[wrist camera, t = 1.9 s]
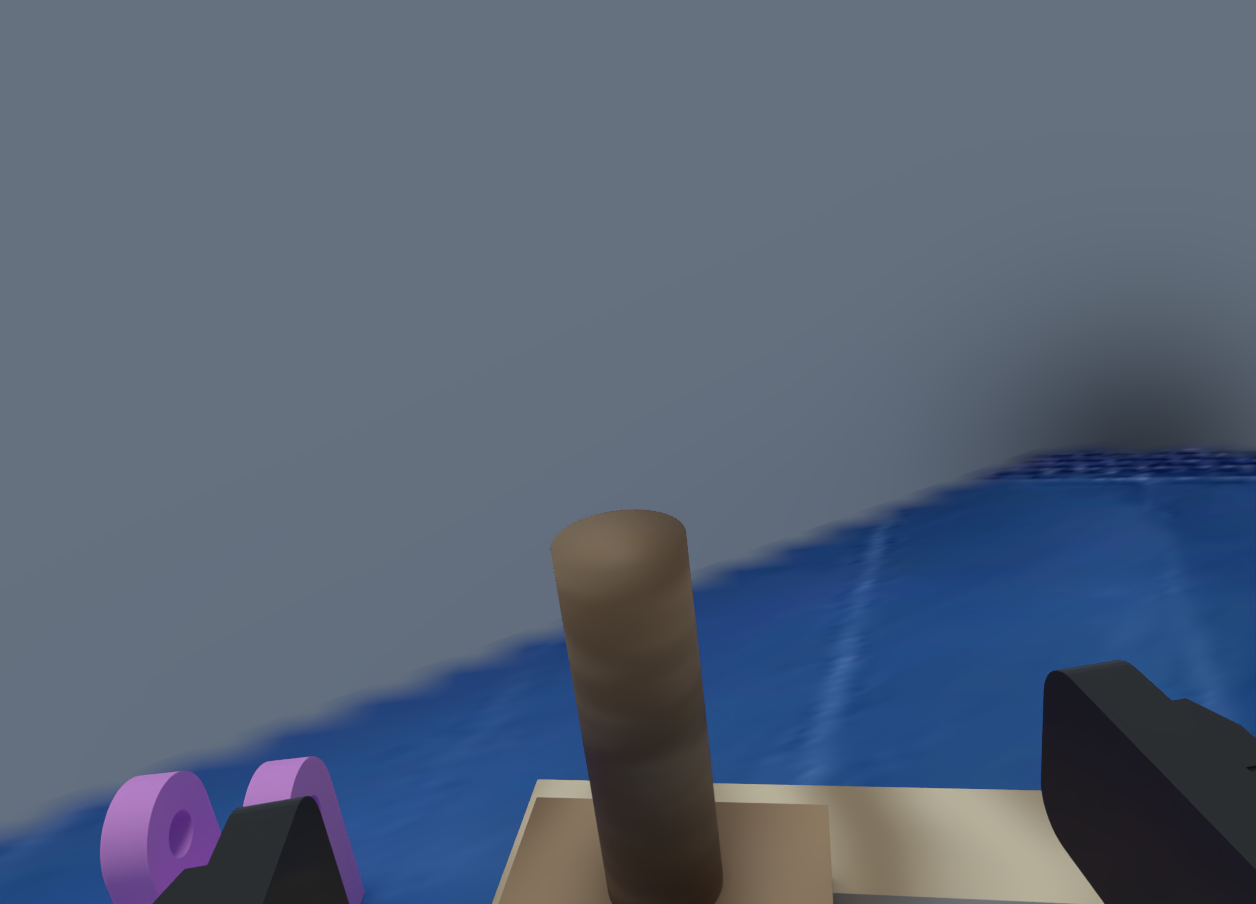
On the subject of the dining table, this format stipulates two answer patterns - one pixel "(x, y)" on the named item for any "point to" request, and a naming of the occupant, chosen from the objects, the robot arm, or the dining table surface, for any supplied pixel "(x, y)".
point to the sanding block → (652, 748)
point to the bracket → (203, 826)
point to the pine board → (915, 843)
